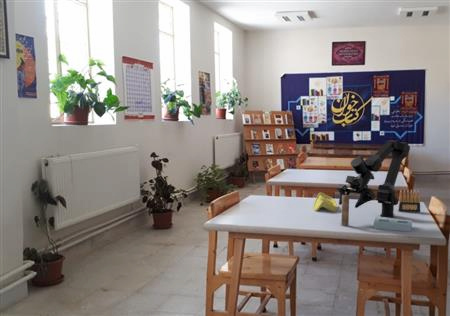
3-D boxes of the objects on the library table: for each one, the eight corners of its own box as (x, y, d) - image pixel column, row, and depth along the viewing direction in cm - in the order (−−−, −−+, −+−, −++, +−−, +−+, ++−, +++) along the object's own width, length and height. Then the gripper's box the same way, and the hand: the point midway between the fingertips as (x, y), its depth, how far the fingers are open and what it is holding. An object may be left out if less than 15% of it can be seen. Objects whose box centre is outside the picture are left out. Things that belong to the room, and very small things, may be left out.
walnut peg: (342, 224, 230) (342, 194, 229) (349, 224, 229) (349, 195, 228) (341, 225, 227) (341, 196, 226) (348, 226, 226) (348, 196, 225)
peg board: (375, 223, 231) (375, 217, 230) (411, 226, 225) (412, 220, 224) (373, 228, 222) (373, 222, 221) (411, 231, 216) (411, 224, 215)
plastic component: (338, 207, 258) (321, 199, 259) (332, 219, 260) (315, 211, 260) (334, 198, 278) (318, 190, 278) (327, 209, 279) (312, 202, 279)
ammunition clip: (398, 211, 259) (399, 189, 258) (398, 211, 261) (399, 188, 260) (420, 212, 257) (421, 189, 256) (419, 211, 259) (420, 189, 257)
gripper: (339, 167, 237) (323, 192, 232) (372, 171, 223) (356, 197, 217) (349, 182, 243) (334, 207, 237) (382, 186, 228) (366, 213, 222)
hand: (347, 205), depth 228 cm, fingers open, 9 cm apart
